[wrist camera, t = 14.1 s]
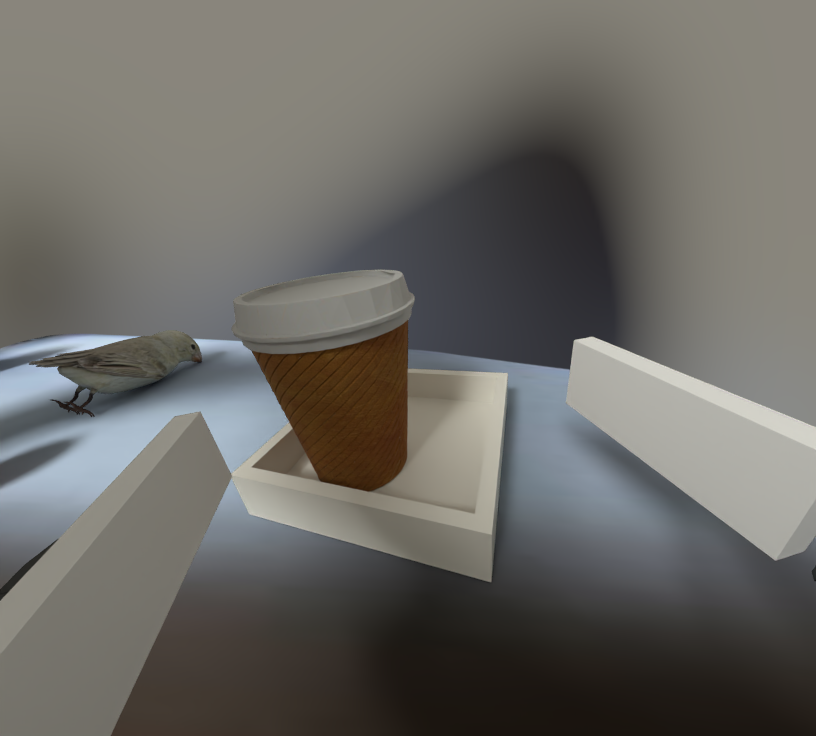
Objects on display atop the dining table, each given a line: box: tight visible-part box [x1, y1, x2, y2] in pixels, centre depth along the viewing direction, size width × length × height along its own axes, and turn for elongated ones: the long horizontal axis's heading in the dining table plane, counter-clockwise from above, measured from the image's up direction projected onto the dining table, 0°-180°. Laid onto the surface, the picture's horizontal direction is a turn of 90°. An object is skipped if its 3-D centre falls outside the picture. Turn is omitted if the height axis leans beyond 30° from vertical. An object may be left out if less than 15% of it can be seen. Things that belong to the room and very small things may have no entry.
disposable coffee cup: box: [232, 270, 415, 492], centre depth 18 cm, size 10×10×12 cm
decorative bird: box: [29, 330, 202, 417], centre depth 38 cm, size 5×16×8 cm, turn 161°
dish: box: [231, 369, 508, 582], centre depth 21 cm, size 15×15×3 cm
